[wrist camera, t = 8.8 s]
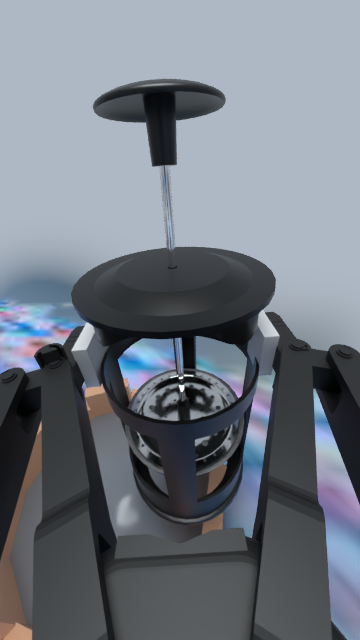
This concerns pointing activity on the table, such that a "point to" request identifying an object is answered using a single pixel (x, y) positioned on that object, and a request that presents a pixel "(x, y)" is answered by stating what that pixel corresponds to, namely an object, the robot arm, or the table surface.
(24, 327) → the table surface
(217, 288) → the french press
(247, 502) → the table surface
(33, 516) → the castellated ring
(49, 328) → the table surface
